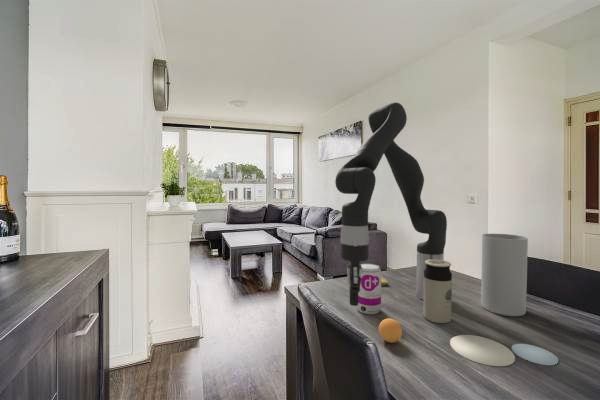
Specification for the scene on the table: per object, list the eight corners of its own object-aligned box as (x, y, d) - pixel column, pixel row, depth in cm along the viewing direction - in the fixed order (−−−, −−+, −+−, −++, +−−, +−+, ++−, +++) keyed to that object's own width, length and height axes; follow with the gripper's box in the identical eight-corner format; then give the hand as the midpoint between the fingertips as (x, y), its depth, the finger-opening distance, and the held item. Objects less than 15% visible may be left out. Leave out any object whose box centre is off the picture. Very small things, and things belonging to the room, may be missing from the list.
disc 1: (473, 331, 83) (473, 330, 83) (528, 357, 70) (528, 356, 70) (438, 342, 77) (438, 341, 77) (490, 372, 64) (490, 371, 64)
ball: (391, 333, 82) (391, 313, 82) (406, 344, 76) (407, 322, 76) (374, 338, 79) (374, 316, 79) (388, 349, 74) (388, 326, 74)
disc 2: (525, 341, 77) (525, 340, 77) (566, 359, 69) (566, 359, 69) (503, 349, 74) (503, 348, 74) (544, 369, 65) (544, 368, 65)
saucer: (362, 281, 130) (362, 276, 130) (381, 280, 131) (381, 276, 131) (368, 287, 122) (368, 282, 121) (388, 287, 122) (388, 282, 122)
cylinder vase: (527, 308, 98) (529, 236, 97) (523, 321, 89) (525, 241, 88) (485, 299, 107) (486, 232, 106) (477, 309, 98) (478, 236, 97)
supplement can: (382, 316, 93) (382, 270, 93) (356, 314, 95) (356, 269, 94) (380, 306, 101) (380, 263, 101) (356, 304, 103) (356, 262, 102)
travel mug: (417, 315, 94) (418, 260, 93) (435, 311, 97) (436, 258, 96) (438, 326, 86) (439, 266, 86) (456, 321, 89) (457, 263, 89)
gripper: (340, 237, 85) (339, 295, 86) (341, 245, 72) (340, 314, 73) (366, 237, 84) (365, 296, 85) (371, 246, 71) (370, 315, 72)
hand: (353, 304), depth 79 cm, fingers closed
